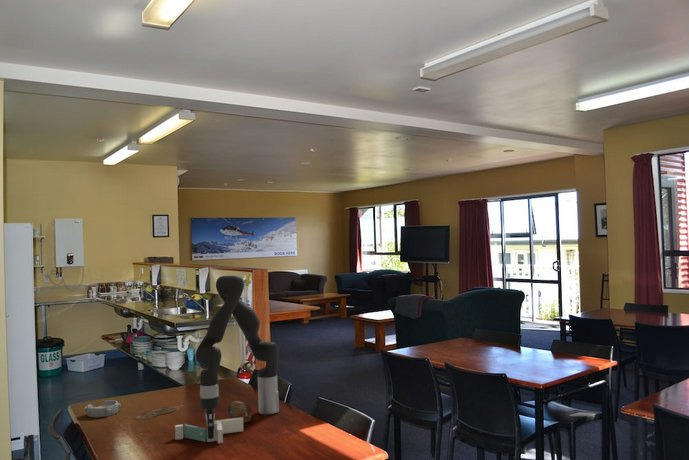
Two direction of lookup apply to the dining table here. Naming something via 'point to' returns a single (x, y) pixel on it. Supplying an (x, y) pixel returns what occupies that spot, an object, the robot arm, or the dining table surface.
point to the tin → (240, 410)
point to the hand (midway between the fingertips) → (210, 434)
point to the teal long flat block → (195, 432)
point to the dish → (103, 409)
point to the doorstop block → (214, 433)
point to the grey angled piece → (222, 428)
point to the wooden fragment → (158, 412)
